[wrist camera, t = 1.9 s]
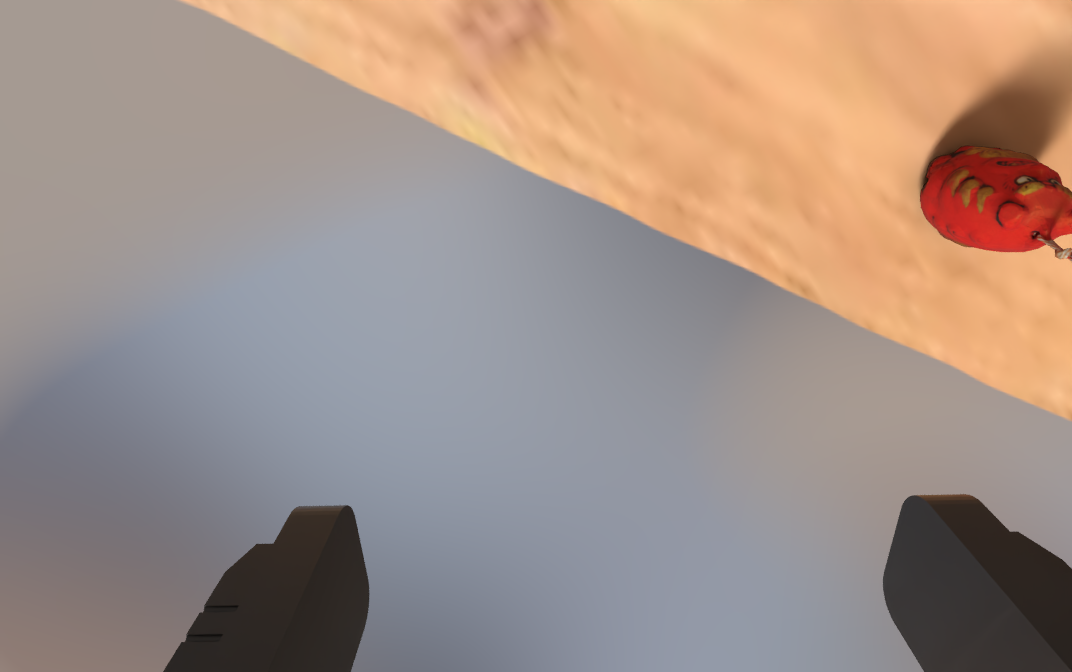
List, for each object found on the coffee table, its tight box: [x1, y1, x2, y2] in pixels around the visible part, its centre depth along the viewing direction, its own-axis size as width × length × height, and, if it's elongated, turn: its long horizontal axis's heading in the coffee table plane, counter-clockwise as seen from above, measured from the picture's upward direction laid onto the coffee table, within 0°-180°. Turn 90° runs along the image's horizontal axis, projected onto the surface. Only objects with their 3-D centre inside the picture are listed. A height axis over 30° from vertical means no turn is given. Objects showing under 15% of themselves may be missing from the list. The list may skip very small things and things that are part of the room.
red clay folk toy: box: [920, 146, 1072, 261], centre depth 39 cm, size 8×7×15 cm
